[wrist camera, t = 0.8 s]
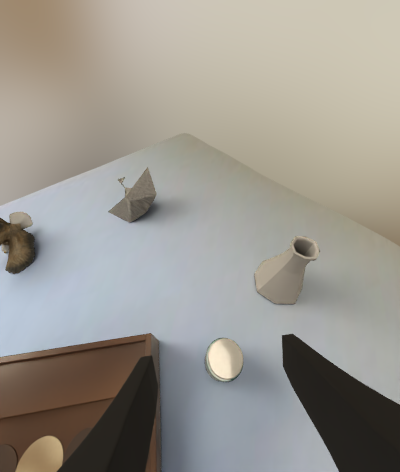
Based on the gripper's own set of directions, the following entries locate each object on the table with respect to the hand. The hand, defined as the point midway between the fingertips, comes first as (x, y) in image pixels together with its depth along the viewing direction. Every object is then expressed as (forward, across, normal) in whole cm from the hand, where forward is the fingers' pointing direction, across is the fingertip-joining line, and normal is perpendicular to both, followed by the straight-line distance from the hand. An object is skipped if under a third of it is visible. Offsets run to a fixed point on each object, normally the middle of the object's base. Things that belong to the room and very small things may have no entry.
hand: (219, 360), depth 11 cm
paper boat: (+32, +11, -8) cm, 35 cm away
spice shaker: (+11, -1, +12) cm, 16 cm away
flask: (+19, -12, +6) cm, 23 cm away
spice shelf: (+8, +15, +13) cm, 22 cm away
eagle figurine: (+26, +31, -3) cm, 40 cm away
